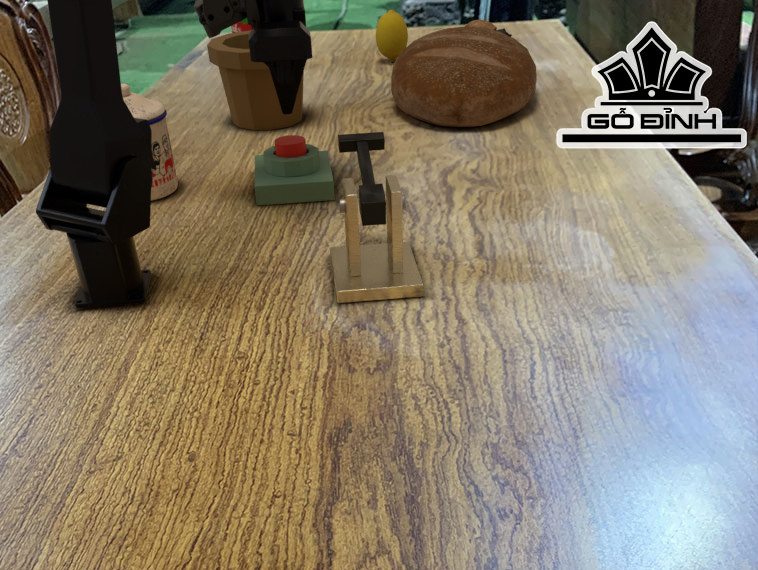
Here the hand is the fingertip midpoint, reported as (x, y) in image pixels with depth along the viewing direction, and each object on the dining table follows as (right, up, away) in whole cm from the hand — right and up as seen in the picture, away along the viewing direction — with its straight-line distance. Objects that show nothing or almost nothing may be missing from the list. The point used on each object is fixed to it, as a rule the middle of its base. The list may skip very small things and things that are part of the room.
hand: (287, 113), depth 94 cm
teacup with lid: (-18, -6, +7) cm, 20 cm away
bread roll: (+29, +42, +60) cm, 79 cm away
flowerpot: (-6, +12, +27) cm, 30 cm away
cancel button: (0, -3, +3) cm, 5 cm away
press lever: (+9, -14, -15) cm, 23 cm away
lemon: (+13, +33, +51) cm, 62 cm away
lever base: (+10, -23, -14) cm, 29 cm away
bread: (+23, +19, +33) cm, 45 cm away
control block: (0, -6, +5) cm, 8 cm away
